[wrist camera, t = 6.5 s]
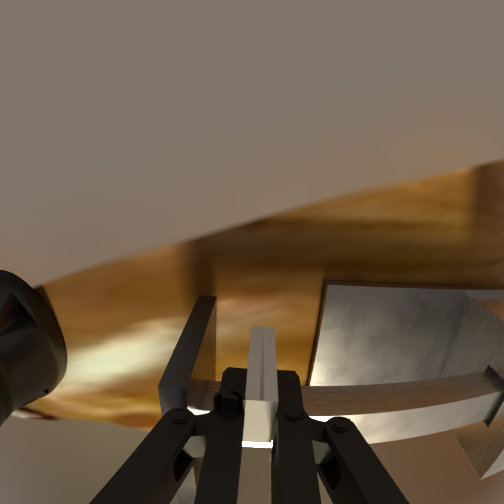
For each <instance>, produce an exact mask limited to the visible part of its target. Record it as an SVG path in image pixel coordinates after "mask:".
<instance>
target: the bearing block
mask: <svg viewBox="0 0 504 504" xmlns="http://www.w3.org/2000/svg"><path fill="white" fill-rule="evenodd" d="M492 369H494V370H495V371H496V373H497V374H498V375H499V376H500V377H501V378H502V379H503V380H504V287H479V286H443V285H414V284H390V283H368V282H348V281H329V280H325V286H324V293H323V299H322V306H321V312H320V318H319V324H318V330H317V336H316V342H315V347H314V353H313V358H312V363H311V368H310V373H309V378H308V383H307V386H347V385H370V384H386V383H399V382H410V381H420V380H429V379H437V378H444V377H451V376H458V375H464V374H470V373H476V372H481V371H487V370H492ZM450 430H451V431H452V433H453V435H454V436H455V438H456V439H457V441H458V443H459V444H460V446H461V448H462V449H463V451H464V453H465V454H466V456H467V458H468V459H469V461H470V463H471V464H472V466H473V468H474V470H475V472H476V473H477V475H478V477H479V479H483V478H485V477H488V476H490V475H492V474H495V473H497V472H499V471H501V470H503V469H504V401H503V403H502V405H501V406H500V408H499V410H498V412H497V414H496V415H495V417H493V418H490V419H487V420H483V421H480V422H477V423H473V424H470V425H466V426H462V427H458V428H454V429H450Z"/></svg>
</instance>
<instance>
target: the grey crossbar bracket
mask: <svg viewBox="0 0 504 504" xmlns="http://www.w3.org/2000/svg"><path fill="white" fill-rule="evenodd" d="M216 307H217V297H213V296H202V295H199V297H198V299H197V301H196V304H195V306H194V308H193V310H192V312H191V314H190V317H189V319H188V321H187V323H186V325H185V327H184V330H183V332H182V334H181V336H180V338H179V340H178V343H177V345H176V347H175V349H174V351H173V354H172V356H171V358H170V360H169V363H168V365H167V367H166V369H165V371H164V374H163V376H162V378H161V380H160V383H159V385H158V390H159V397H160V405H161V412H162V417H163V416H164V414H165V413H166V412H168V411H169V410H171V409H173V408H186V409H188V410H190V411H192V412H193V413H194V414H195V415H198V414H205V413H208V412H210V411H212V410H213V409H214V404H213V397H214V395H215V393H216V392H218V391H219V390H220V386H221V382H220V381H215V362H216ZM301 393H302V399H303V406H304V410H305V411H306V412H307V415H308V416H310V417H311V418H313V419H316V420H319V421H324V422H326V421H327V420H328V419H329V418H332V417H334V416H342V417H346V418H348V419H350V420H351V421H352V422H354V424H355V425H356V427H357V428H358V430H359V431H360V433H361V434H362V435H363V437H364V438H365V440H366V441H367V443H368V444H370V443H379V442H386V441H393V440H400V439H406V438H411V437H417V436H423V435H428V434H432V433H437V432H442V431H446V430H450V429H454V428H458V427H462V426H466V425H470V424H473V423H477V422H480V421H483V420H487V419H490V418H493V417H495V415H496V414H497V412H498V410H499V408H500V406H501V405H502V403H503V401H504V380H503V379H502V378H501V377H500V376H499V375H498V374H497V373H496V371H495V370H494V369H492V370H487V371H481V372H476V373H470V374H464V375H458V376H451V377H444V378H437V379H429V380H420V381H410V382H399V383H386V384H370V385H347V386H301ZM242 446H245V447H266V448H267V447H268V448H272V443H257V442H243V444H242ZM203 458H204V456H203V457H198V458H197V460H196V462H195V464H194V465H193V467H192V469H191V470H190V472H189V473H188V475H187V477H186V478H185V480H184V482H183V483H182V485H181V486H180V488H179V490H178V491H177V496H178V500H179V504H194V500H195V496H196V491H197V486H198V481H199V477H200V472H201V467H202V463H203Z"/></svg>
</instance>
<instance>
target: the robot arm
mask: <svg viewBox="0 0 504 504" xmlns="http://www.w3.org/2000/svg"><path fill="white" fill-rule="evenodd" d="M66 367H67V356H66V349H65V345H64V341H63V338H62V335H61V332H60V330H59V328H58V326H57V323H56V321H55V319H54V317H53V316H52V314H51V312H50V311H49V309H48V307H47V306H46V304H45V303H44V302H43V300H42V299H41V298H40V296H39V295H38V294H37V293H36V292H35V291H34V290H33V289H32V287H31V286H29V285H28V284H27V283H26V282H25V281H23V280H22V279H21V278H20V277H18V276H17V275H15V274H13V273H10V272H8V271H4V270H0V427H1V425H2V424H3V423H4V422H5V420H6V419H7V418H8V417H9V416H10V415H11V414H12V412H13V411H15V410H16V409H19V408H21V407H23V406H25V405H27V404H29V403H31V402H33V401H35V400H37V399H39V398H41V397H44V396H46V395H48V394H49V393H51V392H52V391H53V390H54V389H55V388H56V386H57V385H58V384H59V383H60V382H61V380H62V379H63V377H64V375H65V372H66ZM213 404H214V409H213V410H212V411H210V412H208V413H205V414H198V415H195V414H194V413H193V412H192V411H190V410H188V409H186V408H173V409H171V410H169V411H168V412H166V413H165V414H164V416H163V417H162V418H161V419H160V421H159V422H158V423H157V424H156V425H155V427H154V428H153V429H152V430H151V432H150V433H149V434H148V435H147V436H146V438H145V439H144V440H143V441H142V442H141V444H140V445H139V446H138V447H137V449H136V450H135V451H134V452H133V453H132V454H131V456H130V457H129V458H128V459H127V460H126V462H125V463H124V464H123V465H122V466H121V468H120V469H119V470H118V471H117V472H116V473H115V475H114V476H113V477H112V478H111V479H110V480H109V482H108V483H107V484H106V485H105V486H104V487H103V489H102V490H101V491H100V492H99V493H98V494H97V495H96V497H95V498H94V499H93V500H92V501H91V502H90V503H89V504H169V503H170V502H171V500H172V499H173V497H174V496H175V494H176V493H177V491H178V490H179V488H180V486H181V485H182V483H183V482H184V480H185V478H186V477H187V475H188V473H189V472H190V470H191V469H192V467H193V465H194V464H195V462H196V460H197V458H198V457H203V456H204V458H203V463H202V467H201V472H200V477H199V481H198V486H197V491H196V496H195V500H194V504H237V497H238V487H239V476H240V466H241V455H242V444H243V442H257V443H272V449H271V454H270V460H269V461H271V490H272V491H271V499H272V504H321V498H320V491H319V484H318V478H317V472H318V474H319V476H320V478H321V480H322V482H323V484H324V486H325V488H326V490H327V492H328V494H329V497H330V498H331V500H332V502H333V504H409V502H408V501H407V500H406V498H405V497H404V495H403V494H402V492H401V491H400V490H399V488H398V486H397V485H396V484H395V482H394V481H393V479H392V478H391V476H390V475H389V473H388V472H387V470H386V469H385V468H384V466H383V465H382V463H381V462H380V460H379V459H378V458H377V456H376V455H375V453H374V452H373V450H372V449H371V447H370V446H369V444H368V443H367V441H366V440H365V438H364V437H363V435H362V434H361V433H360V431H359V430H358V428H357V427H356V425H355V424H354V422H352V421H351V420H350V419H348V418H346V417H342V416H334V417H332V418H329V419H328V420H327V421H326V422H324V421H319V420H316V419H313V418H311V417H310V416H308V415H307V412H306V411H305V410H304V406H303V399H302V393H301V386H300V379H299V376H298V375H297V374H296V372H295V371H287V370H277V365H276V346H275V329H274V327H264V326H251V335H250V347H249V359H248V369H244V368H232V367H228V368H227V369H226V370H225V371H224V372H223V375H222V380H221V386H220V390H219V391H218V392H216V393H215V395H214V397H213Z"/></svg>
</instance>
